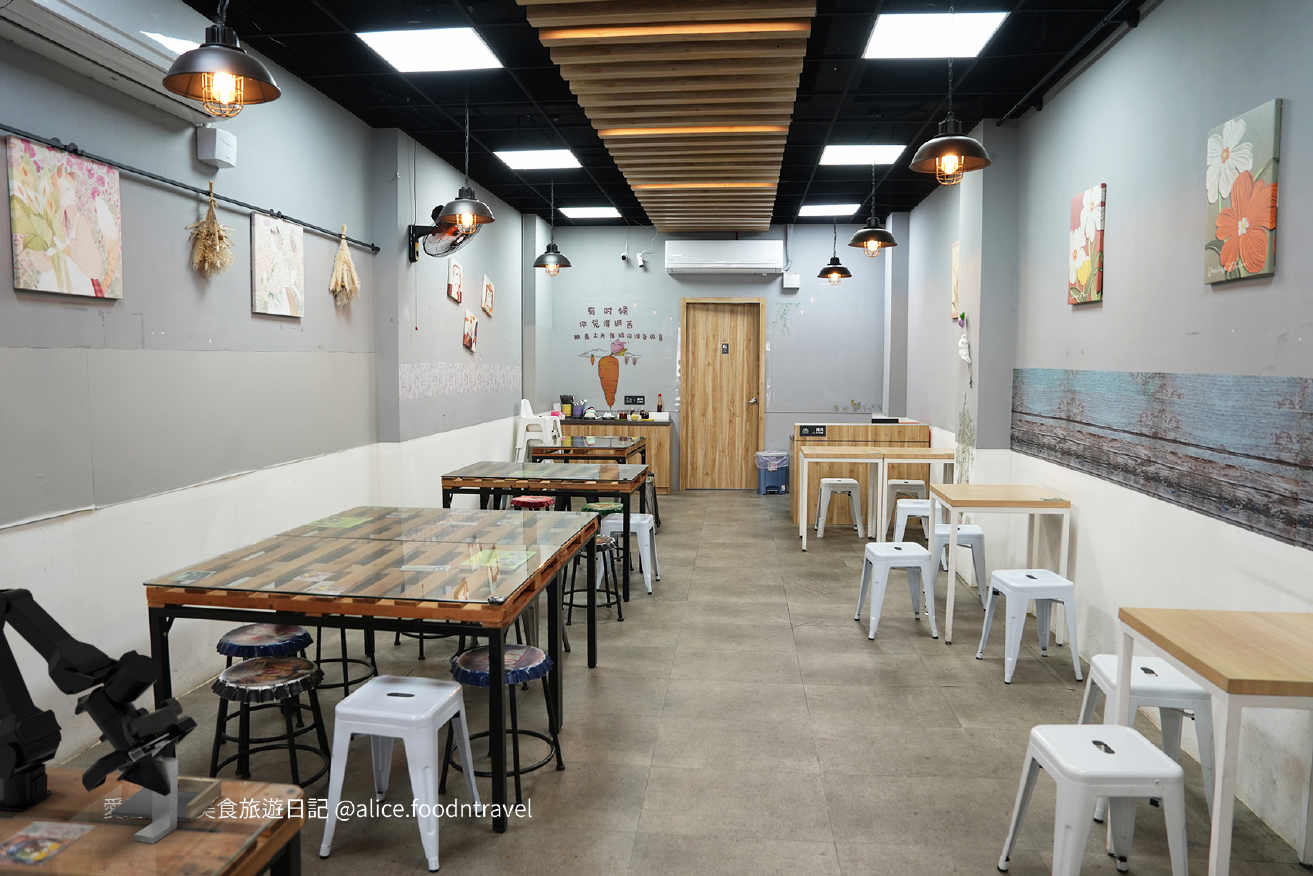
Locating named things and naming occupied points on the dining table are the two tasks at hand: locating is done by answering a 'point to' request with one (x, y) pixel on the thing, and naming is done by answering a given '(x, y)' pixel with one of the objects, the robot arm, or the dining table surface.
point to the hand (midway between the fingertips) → (172, 791)
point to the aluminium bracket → (162, 803)
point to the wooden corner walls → (208, 794)
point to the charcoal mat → (143, 805)
